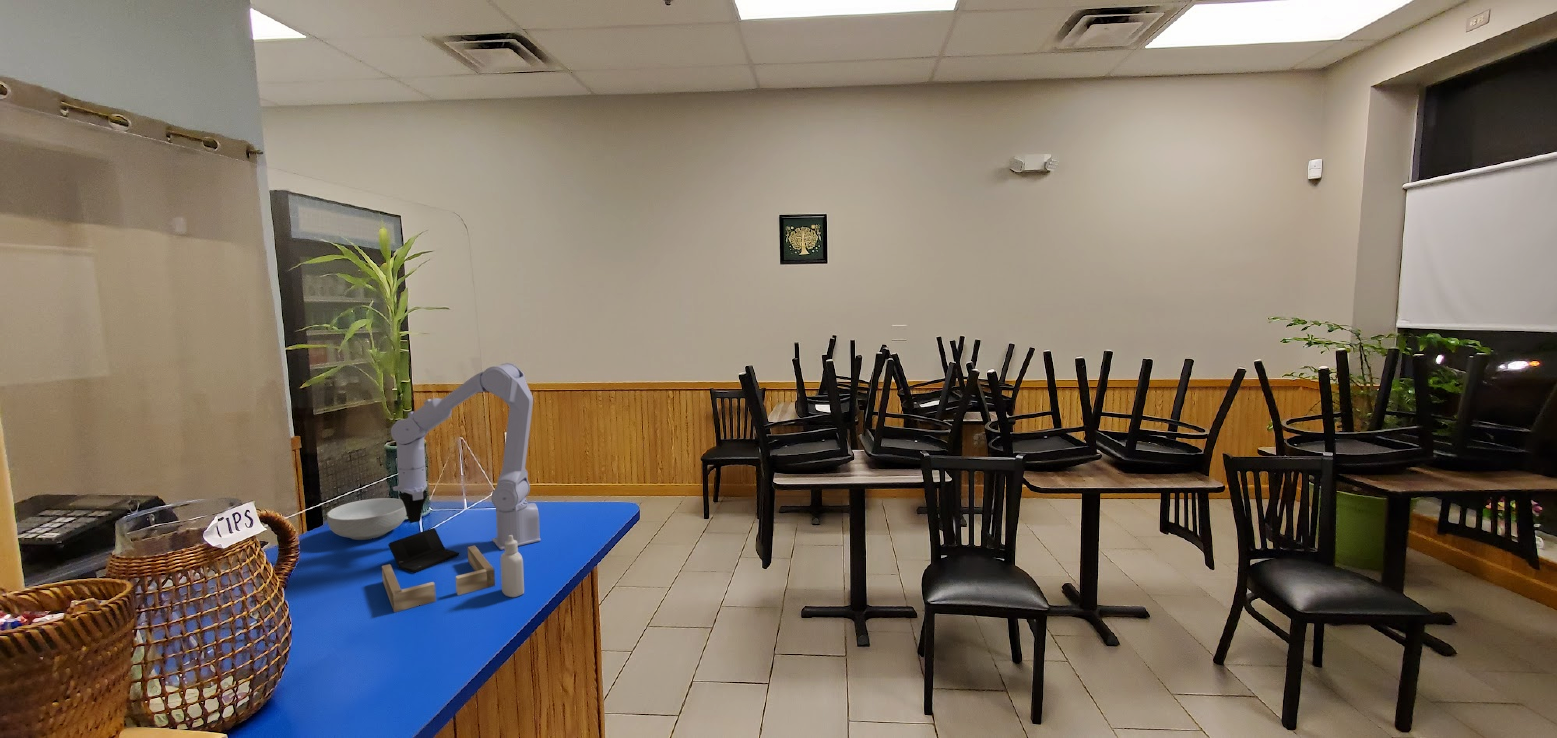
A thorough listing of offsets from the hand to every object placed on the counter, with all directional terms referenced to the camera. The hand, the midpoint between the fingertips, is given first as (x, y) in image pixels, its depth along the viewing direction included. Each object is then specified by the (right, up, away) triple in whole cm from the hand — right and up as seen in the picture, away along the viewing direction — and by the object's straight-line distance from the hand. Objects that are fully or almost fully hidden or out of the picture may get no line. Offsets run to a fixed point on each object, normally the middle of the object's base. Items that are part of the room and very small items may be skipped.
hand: (414, 521), depth 148 cm
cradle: (+17, -8, -20) cm, 28 cm away
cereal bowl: (-16, -5, +7) cm, 18 cm away
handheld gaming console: (+8, -7, -9) cm, 14 cm away
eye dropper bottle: (+35, -9, -24) cm, 43 cm away
